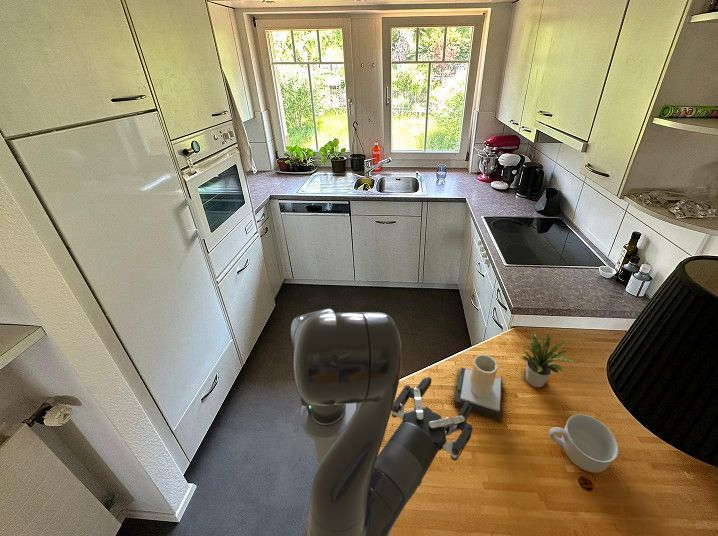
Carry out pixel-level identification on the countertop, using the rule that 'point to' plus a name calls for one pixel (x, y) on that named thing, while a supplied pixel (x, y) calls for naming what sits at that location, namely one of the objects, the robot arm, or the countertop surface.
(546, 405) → the countertop surface
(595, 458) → the teacup
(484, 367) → the tumbler
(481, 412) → the scale
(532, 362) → the house plant
